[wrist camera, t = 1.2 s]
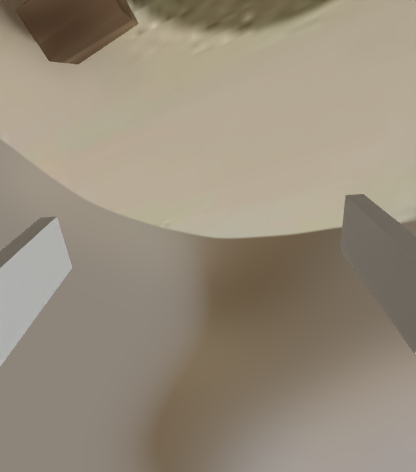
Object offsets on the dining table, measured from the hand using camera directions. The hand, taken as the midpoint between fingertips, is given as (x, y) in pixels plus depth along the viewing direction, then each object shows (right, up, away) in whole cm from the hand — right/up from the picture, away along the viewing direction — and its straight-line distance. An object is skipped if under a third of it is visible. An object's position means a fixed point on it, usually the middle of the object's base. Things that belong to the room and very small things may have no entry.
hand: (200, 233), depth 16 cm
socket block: (-10, +20, +16) cm, 27 cm away
